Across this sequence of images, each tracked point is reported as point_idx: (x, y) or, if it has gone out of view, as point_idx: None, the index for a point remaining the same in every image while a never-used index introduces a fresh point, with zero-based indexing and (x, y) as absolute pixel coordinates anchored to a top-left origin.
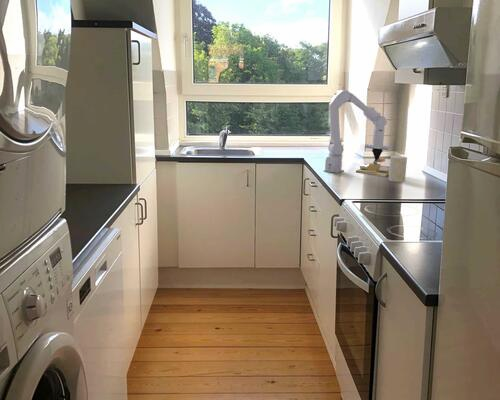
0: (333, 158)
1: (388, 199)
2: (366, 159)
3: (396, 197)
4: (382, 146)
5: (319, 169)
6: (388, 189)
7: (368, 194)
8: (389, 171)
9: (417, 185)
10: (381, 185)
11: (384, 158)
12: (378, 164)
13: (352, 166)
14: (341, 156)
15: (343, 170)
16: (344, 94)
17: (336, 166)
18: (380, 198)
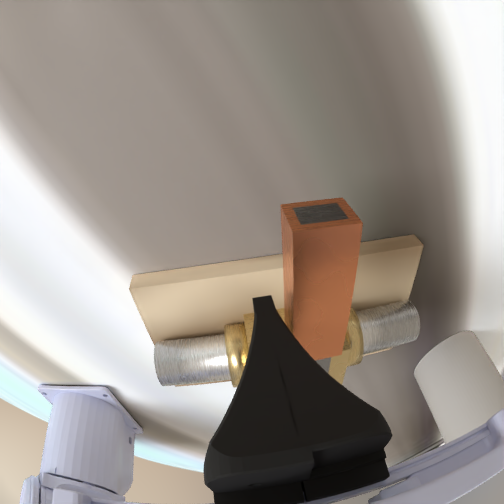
0: (123, 492)
1: (422, 450)
2: None
3: (435, 440)
4: None
5: (30, 406)
6: (420, 430)
7: (386, 461)
8: (430, 409)
9: (498, 354)
10: (400, 427)
11: (355, 239)
12: (335, 367)
13: None
14: (112, 486)
15: (111, 395)
16: None
17: (127, 450)
18: (409, 456)
